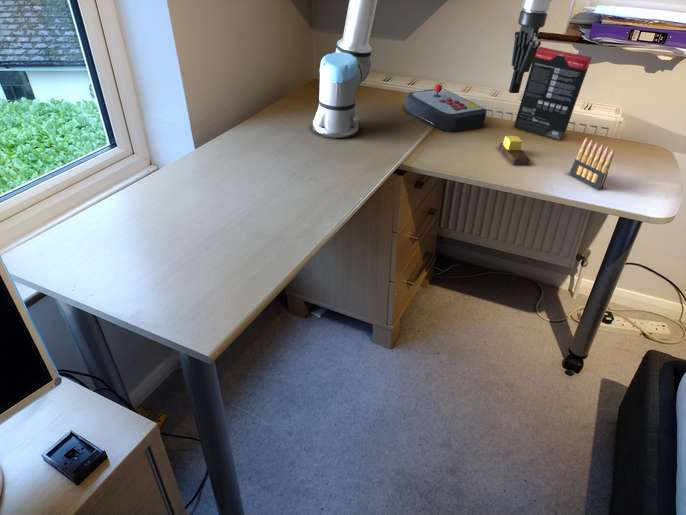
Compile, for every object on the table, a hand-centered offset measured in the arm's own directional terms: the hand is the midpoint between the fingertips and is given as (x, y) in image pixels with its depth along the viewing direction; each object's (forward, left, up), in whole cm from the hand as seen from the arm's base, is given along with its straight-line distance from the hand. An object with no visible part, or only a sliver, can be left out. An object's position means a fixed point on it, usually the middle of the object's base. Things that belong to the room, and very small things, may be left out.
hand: (513, 92), depth 160 cm
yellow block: (+8, 0, -15) cm, 17 cm away
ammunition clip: (+28, +15, -17) cm, 36 cm away
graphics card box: (-9, +18, -17) cm, 27 cm away
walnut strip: (+11, 0, -17) cm, 20 cm away
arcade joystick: (-23, -14, -17) cm, 32 cm away
